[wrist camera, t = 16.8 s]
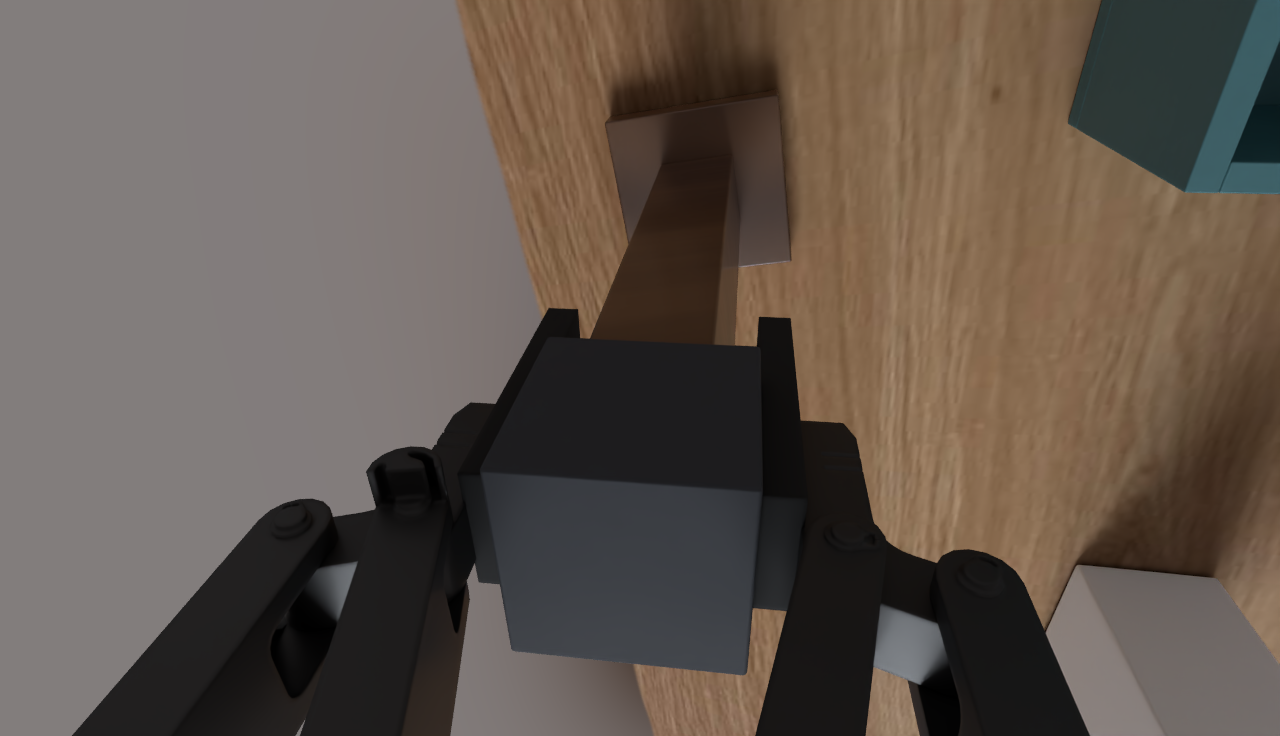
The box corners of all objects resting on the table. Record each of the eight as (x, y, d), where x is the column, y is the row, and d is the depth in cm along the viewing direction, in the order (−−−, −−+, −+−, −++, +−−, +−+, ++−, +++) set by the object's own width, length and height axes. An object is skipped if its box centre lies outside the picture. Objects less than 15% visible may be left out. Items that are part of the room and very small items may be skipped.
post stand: (609, 116, 30) (459, 300, 15) (777, 89, 28) (805, 262, 13) (638, 269, 33) (541, 548, 18) (790, 251, 32) (824, 538, 17)
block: (563, 496, 17) (510, 652, 13) (547, 335, 15) (477, 469, 11) (748, 510, 16) (747, 677, 13) (760, 345, 14) (763, 489, 10)
